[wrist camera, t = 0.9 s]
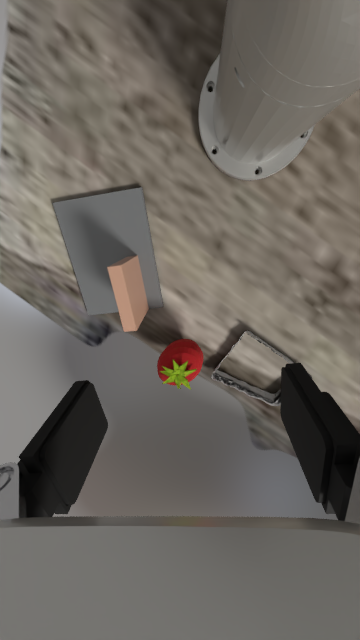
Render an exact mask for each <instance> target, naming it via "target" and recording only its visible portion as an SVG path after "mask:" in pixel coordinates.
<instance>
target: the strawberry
mask: <svg viewBox="0 0 360 640" xmlns="http://www.w3.org/2000/svg"><path fill="white" fill-rule="evenodd" d="M202 364H203V353H202V351H201V349H200V347H199V346H198V345H197V344H196V343H195V342H194V341H192V340H189V339H180V340H176V341H174V342H172V343H171V344H170V345H168V346H167V347H166V349H165V350H164V351H163V352H162V354H161V355H160V357H159V360H158V365H157V367H158V375H159V377H160V378H161V380H162V381H164V382H163V384H164V383H167V384H170V385H177V387H178V389H179V388H180V385H182V384H183V385H185V386H186V387H188V388H189V389H191V388H190V385H189V382H190V381H191V380H193V379H194V378H195V377H196V376H197V375H198V373H199V372H200V370H201V367H202ZM180 389H181V388H180Z"/></svg>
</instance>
